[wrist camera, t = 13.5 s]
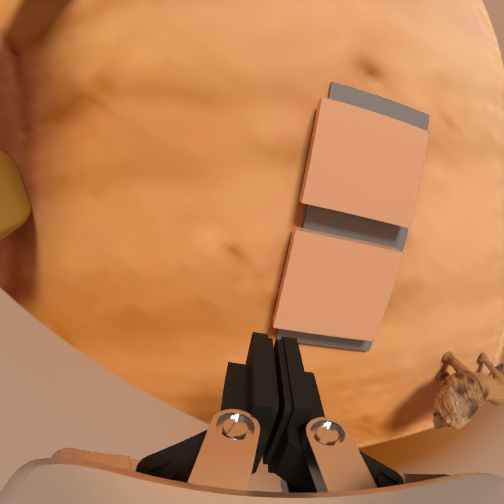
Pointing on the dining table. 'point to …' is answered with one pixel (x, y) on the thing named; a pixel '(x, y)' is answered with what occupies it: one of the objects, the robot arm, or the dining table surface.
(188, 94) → the dining table surface
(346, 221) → the felt mat
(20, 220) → the flower pot
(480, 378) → the lion figurine
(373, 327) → the tile
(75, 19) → the dining table surface
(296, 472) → the robot arm
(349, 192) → the tile
